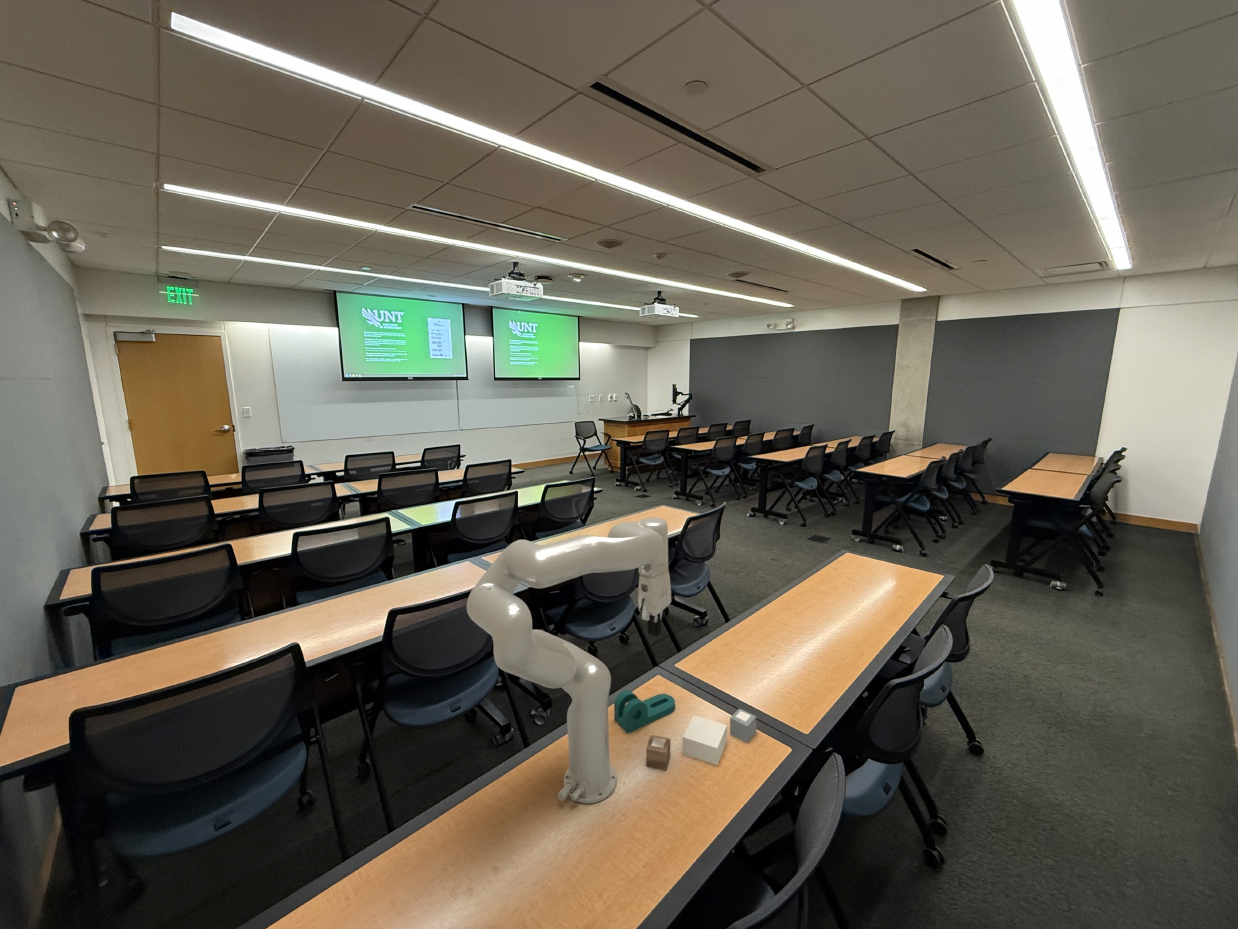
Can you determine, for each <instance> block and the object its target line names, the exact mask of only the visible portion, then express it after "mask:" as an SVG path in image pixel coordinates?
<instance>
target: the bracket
mask: <svg viewBox="0 0 1238 929" xmlns="http://www.w3.org/2000/svg"><path fill="white" fill-rule="evenodd" d="M613 704H614V705H613V706H614V707H613V708H614V711H613V713H614V721H615V722H616V723H617V724H618V725H619V726H620V728H622V730H624V732H625V733H626V734H627V735H628V734H630V733H633V732H634V731H635V732H636V731H637V730H639V729H641V728H643V727H646V726H647V725H649V724H652V723H654V722H656V721H658V720H660V719H662V718H665V717H668V716H669V715H672V714H673V713H674V712H675V710H676V700H675V698H674V697H673V696H672V695H670V694H667V693H659V694H655V695H654V696H651V697H649V698H646V699H643V700H641V699H640V698H638V696H637V695H636V694H635V693H634V692H633V691H632V690H629V689H625V690H623V691H620V693H619V694H618V695H617V696H616V698H615V700H614V703H613Z"/></svg>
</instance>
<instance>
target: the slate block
mask: <svg viewBox="0 0 1238 929" xmlns="http://www.w3.org/2000/svg"><path fill="white" fill-rule="evenodd" d="M729 734H730V736H732V737H734V738H736V739H738V740H739V741H742V742H744V743H746V744H748V743H749V742H750V740H752V738H753V737H754V736H755V735H756V734H757V716H756V715H755V714H752V713H750V712H748V711H746V710H743V709H741V708H738V709H737V710H736V711H735V713H733V714H732V715H731V716H730V717H729Z"/></svg>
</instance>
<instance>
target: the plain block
mask: <svg viewBox="0 0 1238 929" xmlns="http://www.w3.org/2000/svg"><path fill="white" fill-rule="evenodd" d="M727 741H728V725H727V724H725V723H722V722H721V723H720V722H718V721H714V720H710V719H707V718H704V717H701V716H697V715H693V716H692V718H691V719H690V722H689V724H688V726H687V727H686V730H685V732H684V733H683V736H682V755H685V756H688V757H691V758H693V759H696V760H700V761H703V762H705V763H708V764H711V765H714V766H718V765H719V763H720V760H721V758H722V754H723V752H724V750H725V748H726V745H727Z"/></svg>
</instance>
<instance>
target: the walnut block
mask: <svg viewBox="0 0 1238 929" xmlns="http://www.w3.org/2000/svg"><path fill="white" fill-rule="evenodd" d="M671 750H672V749H671V738H670V737H665V736H660V735H655V734H651V735H650V736H649V740H648V743H647V745H646V750H645V751H646V767H647V768H652V769H656V770H661V771H665V772H667V770H668V768H669V764H670V760H671Z"/></svg>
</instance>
